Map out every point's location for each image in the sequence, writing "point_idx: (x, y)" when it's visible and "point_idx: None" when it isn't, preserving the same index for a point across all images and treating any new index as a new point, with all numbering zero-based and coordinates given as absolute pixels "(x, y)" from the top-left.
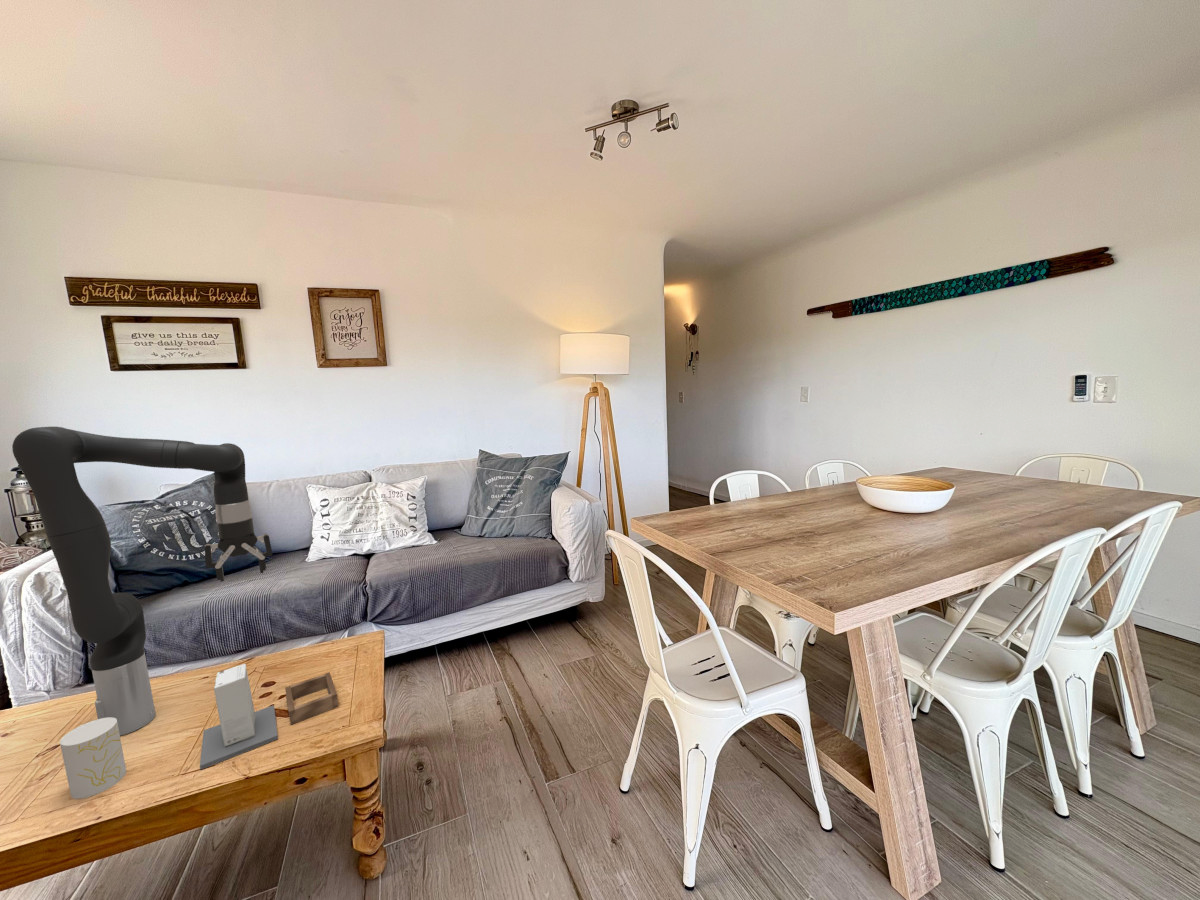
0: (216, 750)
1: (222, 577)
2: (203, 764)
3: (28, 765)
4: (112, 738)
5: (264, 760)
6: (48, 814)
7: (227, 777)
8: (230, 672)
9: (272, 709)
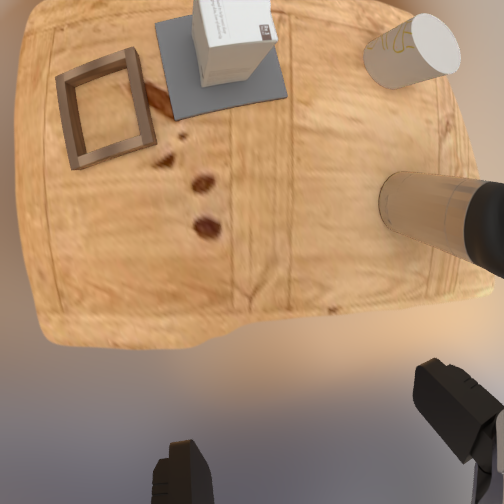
0: None
1: (439, 376)
2: None
3: (467, 166)
4: (401, 29)
5: None
6: None
7: None
8: (239, 13)
9: (174, 104)
